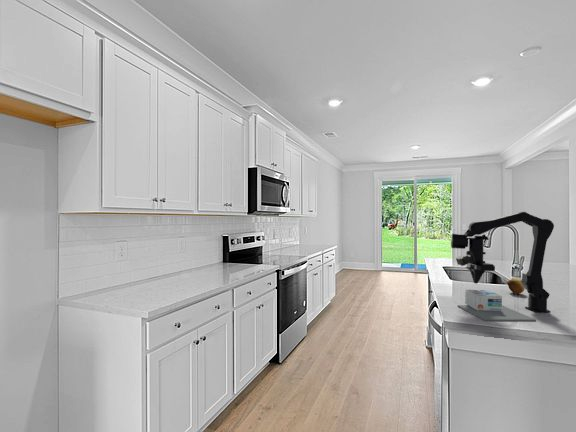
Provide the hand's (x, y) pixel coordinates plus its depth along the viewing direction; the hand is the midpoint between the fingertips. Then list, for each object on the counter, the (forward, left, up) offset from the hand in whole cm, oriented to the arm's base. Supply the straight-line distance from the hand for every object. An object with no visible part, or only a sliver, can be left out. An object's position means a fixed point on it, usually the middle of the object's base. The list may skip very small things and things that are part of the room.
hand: (475, 283), depth 151 cm
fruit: (+21, -34, -10) cm, 42 cm away
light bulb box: (-1, 0, -6) cm, 6 cm away
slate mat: (-13, 0, -10) cm, 16 cm away
